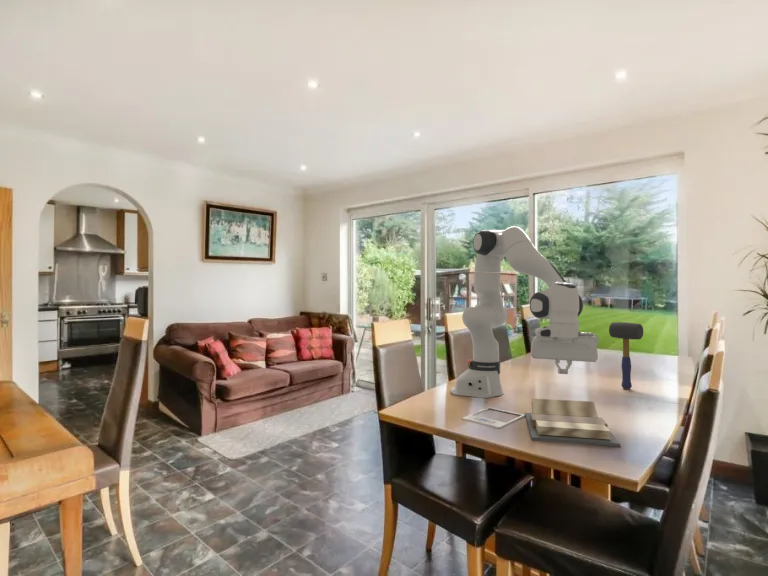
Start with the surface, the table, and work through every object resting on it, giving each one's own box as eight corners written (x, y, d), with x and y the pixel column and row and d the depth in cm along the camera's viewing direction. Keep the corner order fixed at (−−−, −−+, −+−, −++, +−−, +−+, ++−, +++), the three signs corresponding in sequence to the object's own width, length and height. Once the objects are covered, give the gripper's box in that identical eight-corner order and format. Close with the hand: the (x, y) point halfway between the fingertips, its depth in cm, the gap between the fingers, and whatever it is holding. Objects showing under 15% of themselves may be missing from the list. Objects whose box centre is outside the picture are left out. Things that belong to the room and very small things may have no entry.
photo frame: (462, 417, 147) (488, 406, 160) (462, 420, 147) (488, 409, 160) (499, 426, 137) (525, 414, 150) (499, 429, 137) (525, 417, 150)
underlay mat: (532, 439, 126) (532, 437, 126) (525, 414, 151) (525, 412, 152) (620, 446, 120) (620, 443, 120) (598, 419, 146) (597, 417, 146)
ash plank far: (533, 418, 143) (533, 413, 142) (531, 403, 149) (531, 398, 148) (597, 422, 138) (598, 417, 137) (592, 407, 144) (593, 401, 143)
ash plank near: (538, 434, 128) (538, 426, 128) (535, 428, 135) (535, 420, 135) (610, 439, 123) (610, 430, 123) (604, 432, 130) (604, 424, 130)
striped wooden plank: (532, 427, 135) (532, 419, 135) (530, 420, 142) (530, 413, 142) (607, 432, 130) (607, 424, 130) (601, 425, 137) (601, 417, 137)
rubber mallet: (608, 387, 191) (607, 322, 191) (616, 385, 196) (615, 321, 196) (638, 393, 181) (637, 323, 181) (645, 390, 186) (644, 322, 186)
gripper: (596, 331, 138) (595, 373, 138) (530, 329, 143) (529, 369, 143) (601, 334, 131) (599, 378, 132) (531, 331, 137) (531, 373, 137)
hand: (562, 373), depth 138 cm, fingers closed
